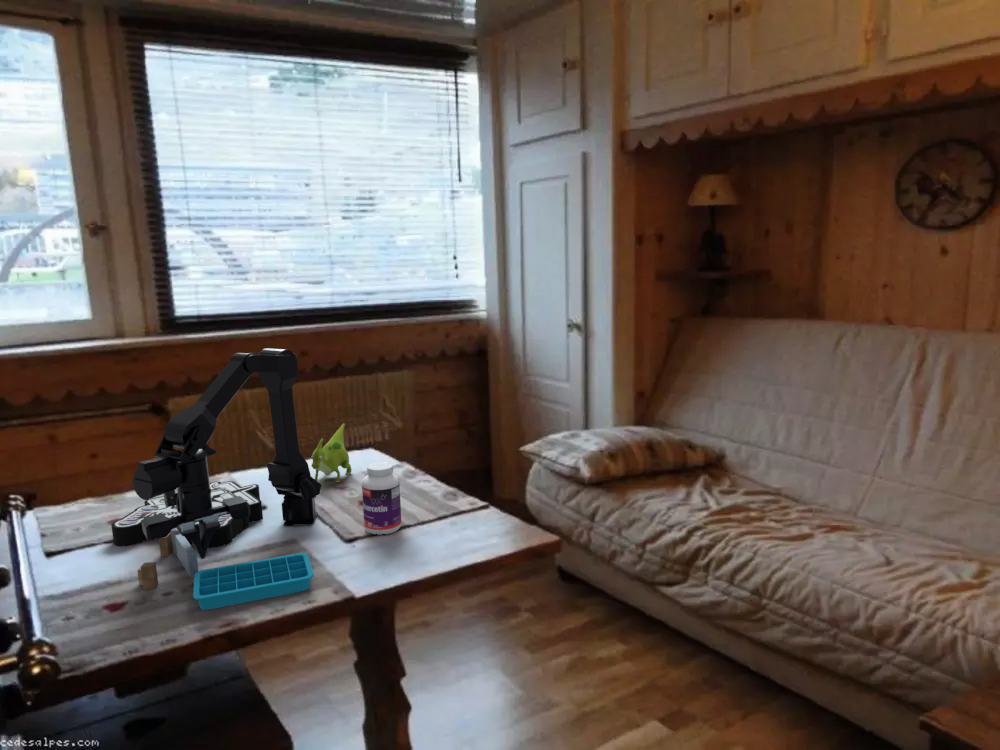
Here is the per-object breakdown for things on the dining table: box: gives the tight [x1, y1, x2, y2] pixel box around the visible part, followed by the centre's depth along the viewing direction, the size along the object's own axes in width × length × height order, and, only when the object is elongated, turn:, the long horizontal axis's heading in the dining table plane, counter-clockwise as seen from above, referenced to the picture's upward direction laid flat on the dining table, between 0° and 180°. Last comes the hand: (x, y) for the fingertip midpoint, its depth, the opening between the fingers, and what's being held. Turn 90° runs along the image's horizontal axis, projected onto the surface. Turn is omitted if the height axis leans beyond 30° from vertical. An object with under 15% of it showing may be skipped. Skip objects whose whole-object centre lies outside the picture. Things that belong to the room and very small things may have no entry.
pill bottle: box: [361, 461, 402, 536], centre depth 154 cm, size 8×8×14 cm
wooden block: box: [137, 561, 159, 591], centre depth 132 cm, size 4×5×4 cm
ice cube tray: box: [192, 552, 315, 611], centre depth 130 cm, size 12×20×3 cm, turn 111°
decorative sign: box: [110, 480, 264, 549], centre depth 163 cm, size 28×4×30 cm
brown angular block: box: [158, 532, 173, 557], centre depth 145 cm, size 2×3×4 cm, turn 5°
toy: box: [310, 423, 353, 483], centre depth 190 cm, size 8×21×15 cm, turn 171°
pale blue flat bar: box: [171, 528, 199, 578], centre depth 140 cm, size 2×15×5 cm, turn 36°
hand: (202, 558), depth 139 cm, fingers closed
